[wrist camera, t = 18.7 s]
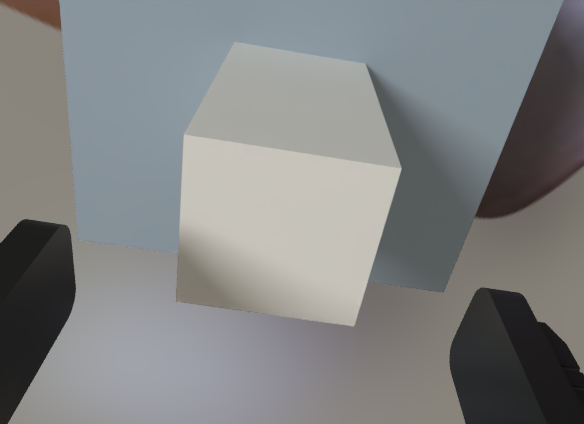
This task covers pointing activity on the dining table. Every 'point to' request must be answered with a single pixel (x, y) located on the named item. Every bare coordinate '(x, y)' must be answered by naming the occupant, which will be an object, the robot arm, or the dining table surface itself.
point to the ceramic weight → (284, 187)
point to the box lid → (316, 41)
